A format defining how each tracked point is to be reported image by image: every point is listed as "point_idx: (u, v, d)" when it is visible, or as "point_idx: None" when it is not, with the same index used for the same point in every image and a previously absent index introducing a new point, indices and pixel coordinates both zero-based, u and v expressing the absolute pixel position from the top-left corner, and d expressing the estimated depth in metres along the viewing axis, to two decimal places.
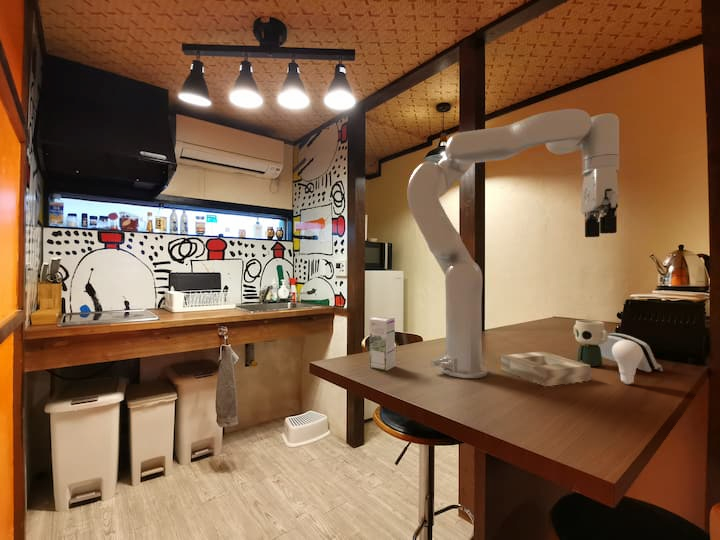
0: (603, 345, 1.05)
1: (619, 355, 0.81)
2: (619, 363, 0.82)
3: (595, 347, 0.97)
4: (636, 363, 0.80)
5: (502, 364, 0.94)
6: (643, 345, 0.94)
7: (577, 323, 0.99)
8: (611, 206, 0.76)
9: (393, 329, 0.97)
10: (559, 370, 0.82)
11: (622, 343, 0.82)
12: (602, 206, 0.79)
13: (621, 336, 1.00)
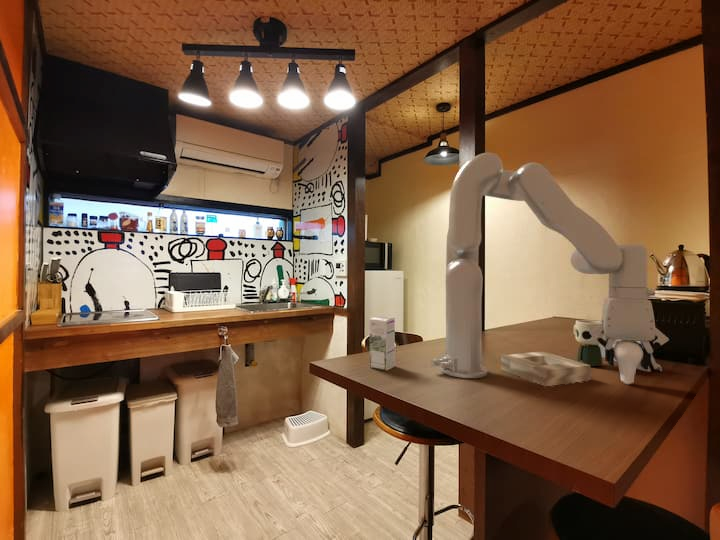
0: None
1: (619, 355, 0.81)
2: (619, 363, 0.82)
3: (595, 347, 0.97)
4: (636, 363, 0.80)
5: (502, 364, 0.94)
6: None
7: (577, 323, 0.99)
8: (597, 340, 0.86)
9: (393, 329, 0.97)
10: (559, 370, 0.82)
11: (622, 343, 0.82)
12: (607, 337, 0.85)
13: None
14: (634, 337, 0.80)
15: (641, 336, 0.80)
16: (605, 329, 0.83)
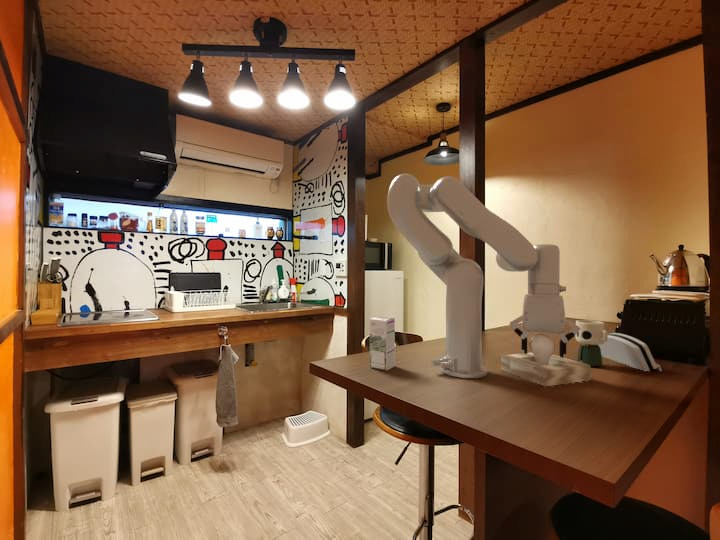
0: (603, 345, 1.06)
1: (534, 348, 0.89)
2: (534, 355, 0.90)
3: (595, 347, 0.97)
4: (548, 355, 0.88)
5: (502, 364, 0.94)
6: (641, 345, 0.94)
7: (577, 323, 0.99)
8: None
9: (393, 329, 0.97)
10: (559, 370, 0.82)
11: (536, 337, 0.89)
12: (525, 328, 0.93)
13: (620, 336, 1.00)
14: (547, 329, 0.87)
15: (553, 329, 0.87)
16: (523, 322, 0.90)
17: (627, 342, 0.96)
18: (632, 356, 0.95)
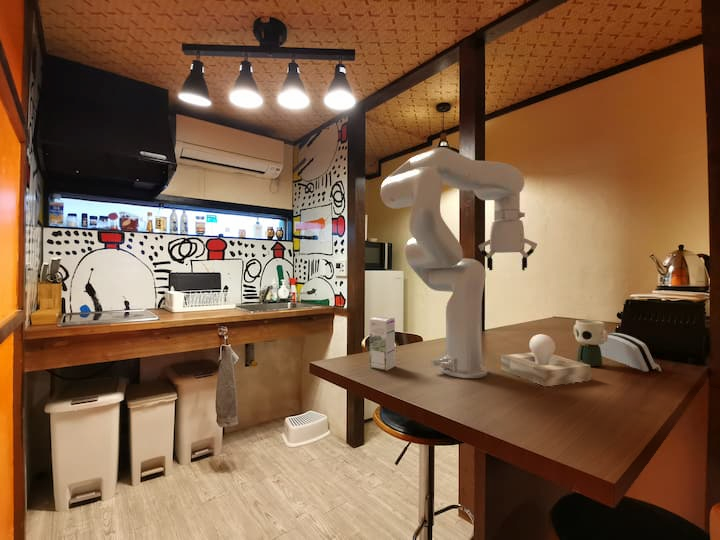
0: (604, 345, 1.06)
1: (534, 348, 0.89)
2: (534, 355, 0.90)
3: (595, 347, 0.97)
4: (548, 355, 0.87)
5: (502, 364, 0.94)
6: (640, 345, 0.94)
7: (577, 323, 0.99)
8: None
9: (393, 329, 0.97)
10: (559, 370, 0.82)
11: (536, 337, 0.89)
12: None
13: (620, 336, 1.00)
14: (509, 248, 1.04)
15: (514, 247, 1.04)
16: (490, 245, 1.07)
17: (626, 342, 0.96)
18: (631, 356, 0.96)
